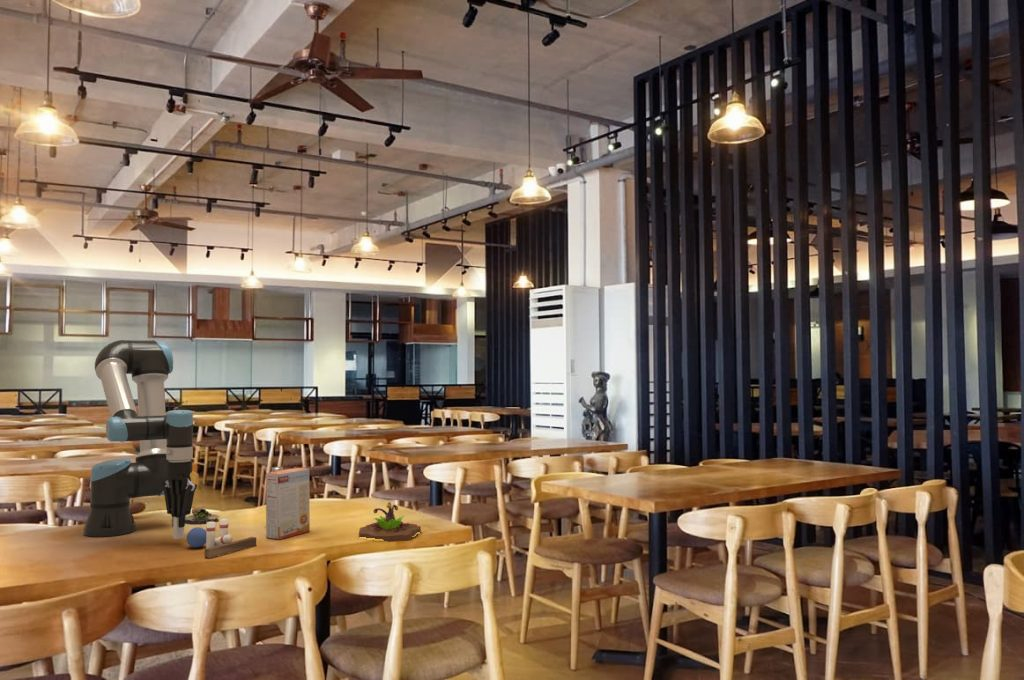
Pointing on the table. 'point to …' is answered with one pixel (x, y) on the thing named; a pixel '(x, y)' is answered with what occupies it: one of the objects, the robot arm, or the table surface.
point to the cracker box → (287, 503)
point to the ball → (196, 537)
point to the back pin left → (223, 527)
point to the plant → (389, 527)
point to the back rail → (230, 547)
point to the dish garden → (200, 516)
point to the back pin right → (210, 535)
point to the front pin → (223, 540)
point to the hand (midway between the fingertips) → (178, 537)
